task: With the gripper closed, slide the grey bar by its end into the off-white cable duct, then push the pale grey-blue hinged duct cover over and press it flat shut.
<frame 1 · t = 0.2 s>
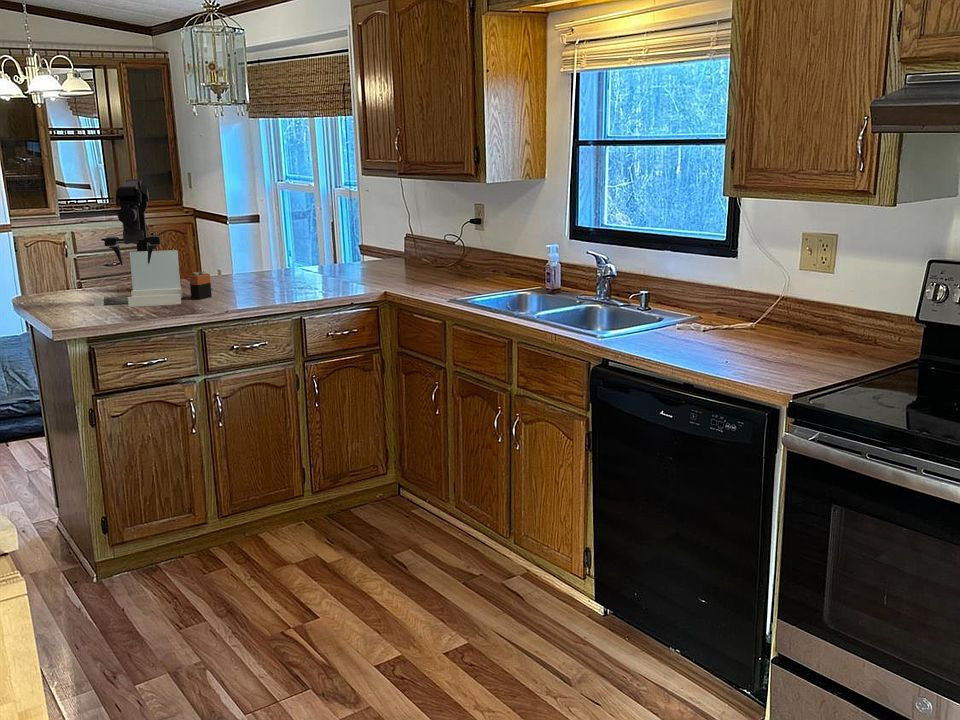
hand: (135, 264, 315), 14 cm above the table, fingers open, 9 cm apart
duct: (156, 301, 321), on the table
cover: (155, 270, 326), point 11 cm above the table, hinge at 100.0°
battery: (201, 298, 328), on the table
grey bar: (115, 304, 316), on the table
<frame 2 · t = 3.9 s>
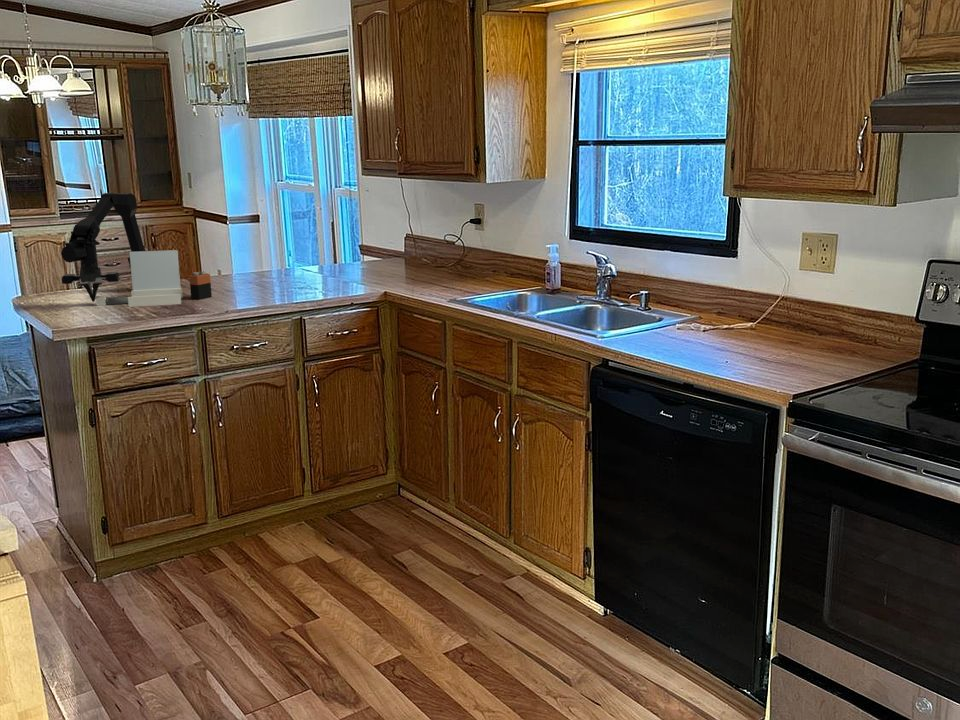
hand: (93, 301, 314), 1 cm above the table, fingers closed
grey bar: (117, 304, 317), on the table, touching gripper
everything else where it was.
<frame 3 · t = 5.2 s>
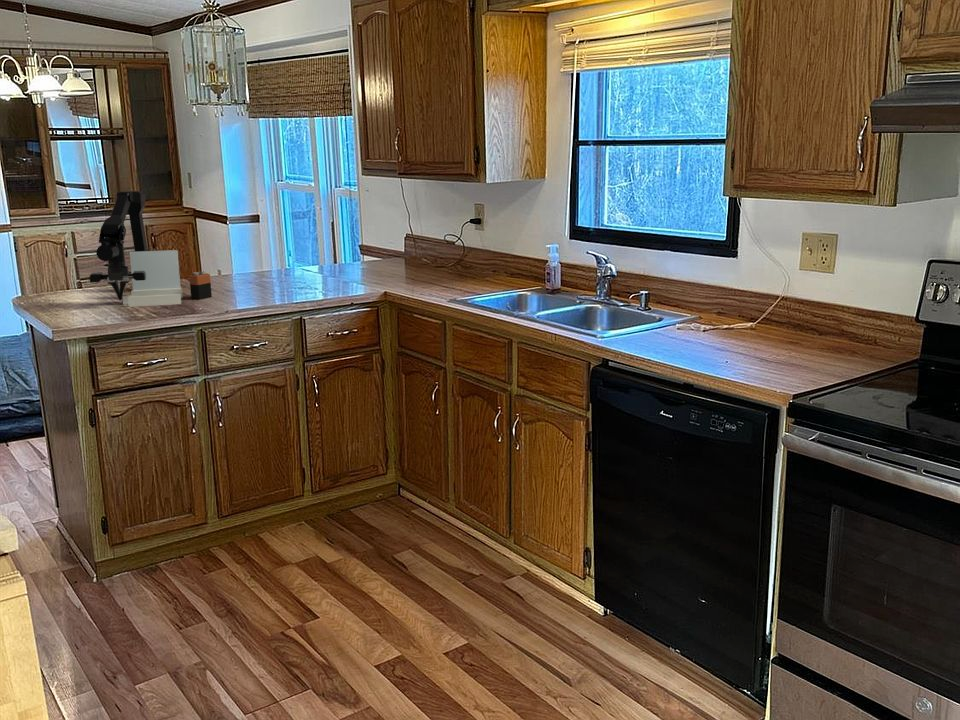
hand: (120, 299, 316), 2 cm above the table, fingers closed
grey bar: (144, 302, 319), on the table, touching gripper
everything else where it was.
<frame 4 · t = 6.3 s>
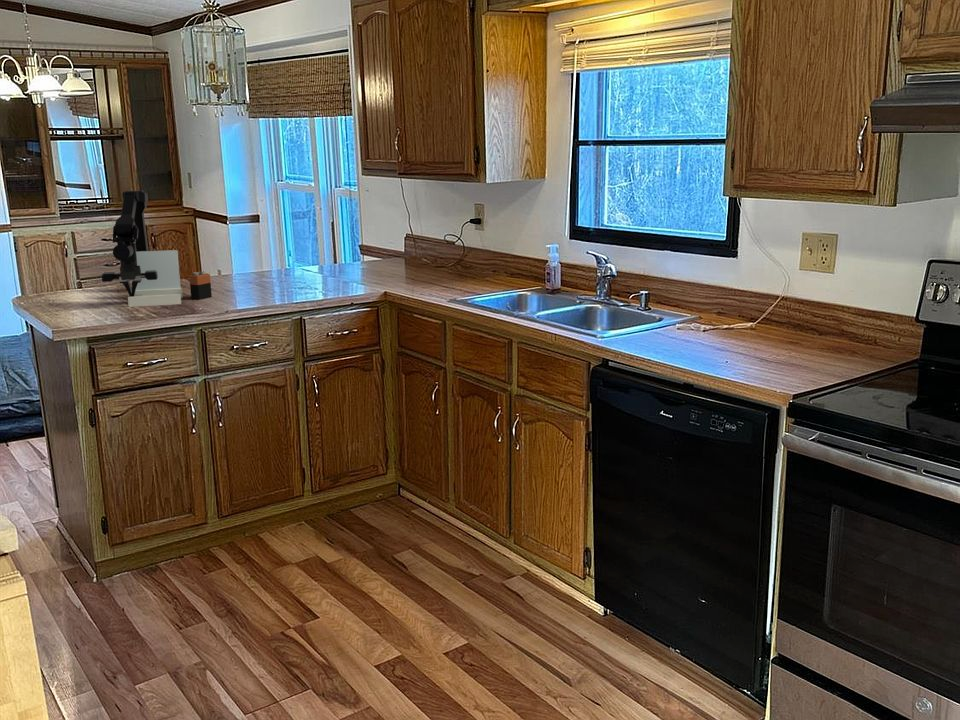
hand: (132, 299, 318), 2 cm above the table, fingers closed
grey bar: (155, 302, 320), on the table, touching gripper
everything else where it was.
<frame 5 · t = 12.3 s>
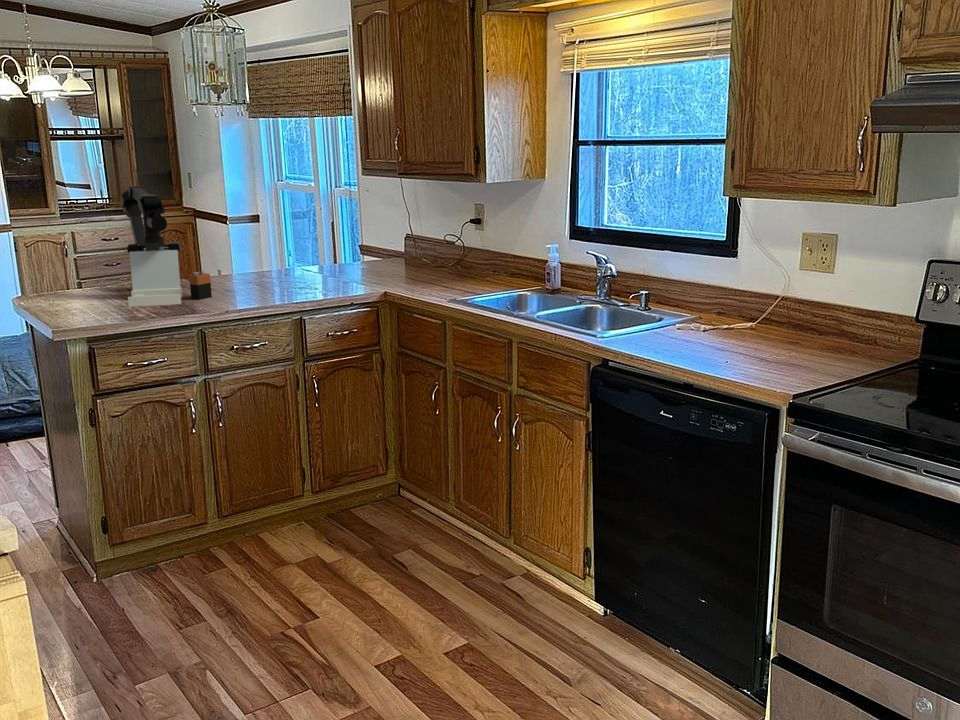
hand: (156, 269, 331), 10 cm above the table, fingers closed, pressing on cover
cover: (155, 270, 326), point 11 cm above the table, hinge at 98.6°, touching gripper
grey bar: (156, 302, 320), on the table
everything else where it was.
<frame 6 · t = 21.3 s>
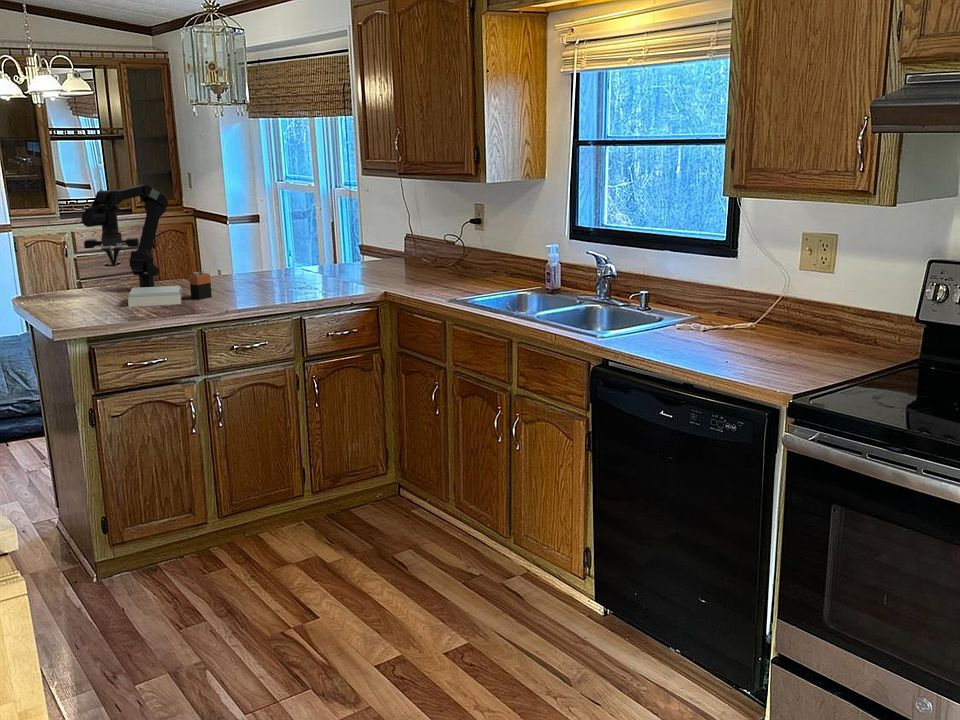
hand: (114, 265, 328), 12 cm above the table, fingers closed
cover: (155, 291, 320), point 4 cm above the table, hinge at 0.4°, touching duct
everything else where it was.
at the end: cover at +0° (first picture: +100°); grey bar inside the target area on the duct (1.0 cm from its centre), point 0.0 cm above the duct's base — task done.
